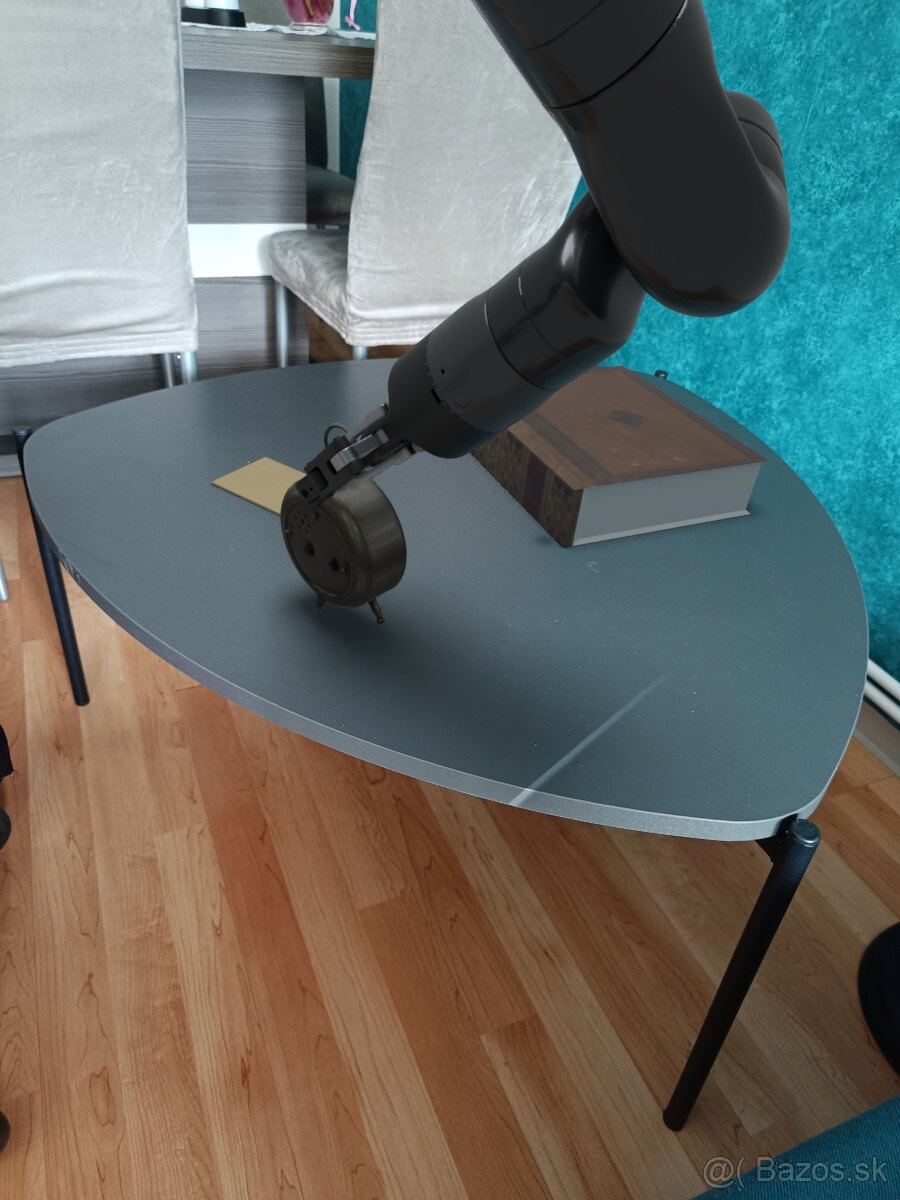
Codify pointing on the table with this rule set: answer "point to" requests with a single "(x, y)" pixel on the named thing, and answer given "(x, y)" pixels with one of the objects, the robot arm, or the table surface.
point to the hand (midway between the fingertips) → (329, 483)
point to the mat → (261, 483)
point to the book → (619, 461)
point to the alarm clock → (345, 543)
